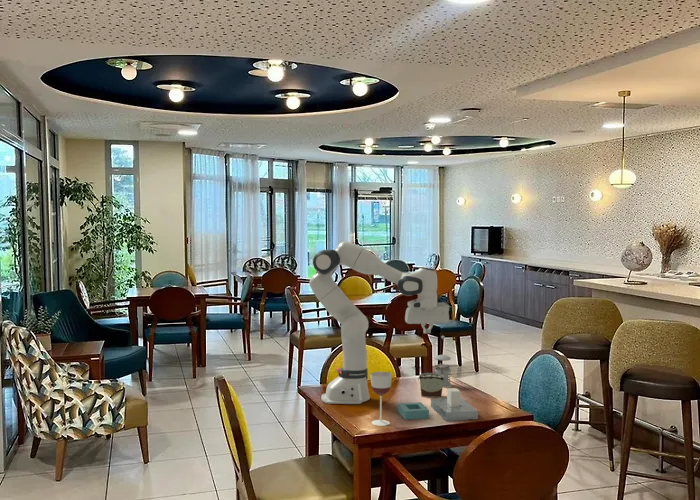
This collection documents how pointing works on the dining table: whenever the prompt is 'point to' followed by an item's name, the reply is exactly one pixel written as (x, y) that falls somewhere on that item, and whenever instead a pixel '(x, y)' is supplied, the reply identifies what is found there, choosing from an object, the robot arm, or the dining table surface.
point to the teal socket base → (413, 410)
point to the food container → (431, 384)
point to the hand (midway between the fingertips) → (427, 333)
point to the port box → (454, 410)
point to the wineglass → (381, 391)
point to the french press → (443, 369)
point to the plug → (453, 397)
